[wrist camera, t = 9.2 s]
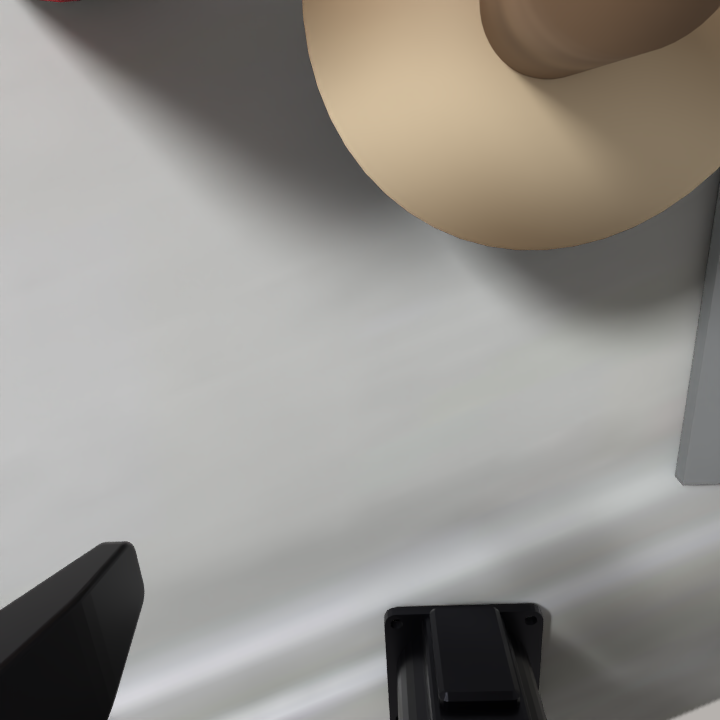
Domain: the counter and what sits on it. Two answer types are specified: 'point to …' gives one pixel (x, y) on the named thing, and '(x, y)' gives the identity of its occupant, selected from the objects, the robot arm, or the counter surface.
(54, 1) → the soda can
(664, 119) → the lid
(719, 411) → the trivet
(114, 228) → the counter surface
